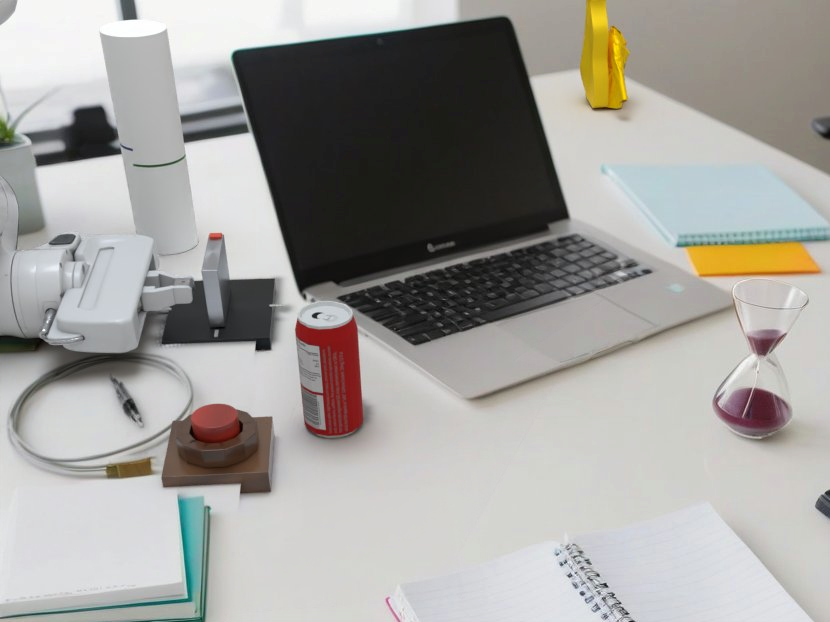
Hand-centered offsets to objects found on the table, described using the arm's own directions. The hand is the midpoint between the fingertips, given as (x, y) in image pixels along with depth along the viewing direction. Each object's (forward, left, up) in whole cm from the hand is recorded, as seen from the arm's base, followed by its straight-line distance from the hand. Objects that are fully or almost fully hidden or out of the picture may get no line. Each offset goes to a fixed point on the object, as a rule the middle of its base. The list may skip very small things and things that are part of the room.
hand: (193, 289), depth 119 cm
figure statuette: (+57, +75, -6) cm, 94 cm away
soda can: (+14, -19, -6) cm, 24 cm away
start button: (+4, -25, -2) cm, 25 cm away
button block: (+4, -25, -6) cm, 26 cm away
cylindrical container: (-6, +24, -6) cm, 26 cm away
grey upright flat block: (+2, +3, -4) cm, 6 cm away
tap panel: (+2, +3, -6) cm, 7 cm away
